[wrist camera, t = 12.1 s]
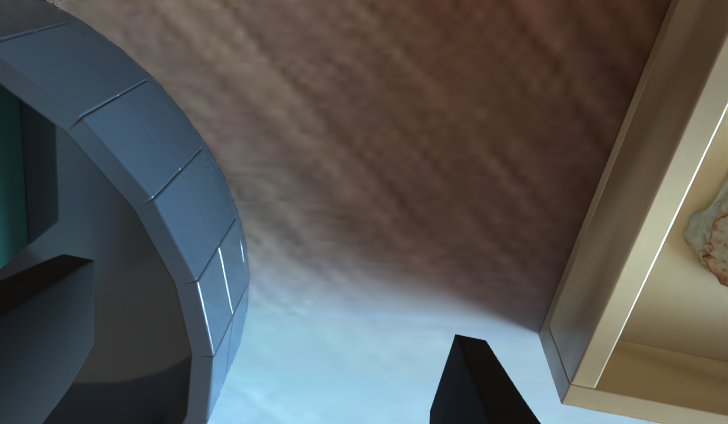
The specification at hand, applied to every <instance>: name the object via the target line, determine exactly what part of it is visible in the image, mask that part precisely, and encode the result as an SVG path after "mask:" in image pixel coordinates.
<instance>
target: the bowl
mask: <svg viewBox="0 0 728 424" xmlns="http://www.w3.org/2000/svg"><path fill="white" fill-rule="evenodd" d="M0 84H1V85H2V86H3V87H5V88H6V89H7V90H9V91H10V92H11V93H13V94H14V95H16V96H17V97H18V98H19V103H20V119H21V135H22V151H23V167H24V184H25V200H26V216H27V232H28V246H27V247H26V248H25V249H24V250H23V251H21V252H20V253H19V254H18V255H17V256H15V257H14V258H13V259H12V260H11V261H9V262H8V263H7V264H6V265H4V266H3V267H2V268H1V269H0V280H2V279H5V278H7V277H9V276H11V275H14V274H16V273H18V272H20V271H23V270H25V269H27V268H30V267H32V266H34V265H37V264H39V263H41V262H44V261H46V260H49V259H51V258H54V257H56V256H59V255H62V254H67V255H72V256H76V257H81V258H86V259H91V260H95V282H94V345H93V347H92V349H91V351H90V352H89V354H88V356H87V358H86V360H85V362H84V363H83V365H82V367H81V369H80V370H79V372H78V374H77V375H76V377H75V379H74V381H73V382H72V384H71V386H70V387H69V389H68V390H67V391H66V393H65V394H64V396H63V397H62V398H61V400H60V401H59V402H58V404H57V405H56V406H55V408H54V409H53V410H52V412H51V413H50V414H49V416H48V417H47V418H46V420H45V421H44V422H43V423H42V424H207V423H208V420H209V418H210V415H211V413H212V411H213V408H214V406H215V403H216V401H217V398H218V396H219V393H220V391H221V389H222V386H223V384H224V381H225V379H226V376H227V374H228V372H229V369H230V367H231V364H232V362H233V359H234V357H235V354H236V352H237V350H238V347H239V345H240V342H241V335H242V330H243V326H244V321H245V316H246V311H247V307H248V289H249V270H248V260H247V251H246V243H245V239H244V235H243V231H242V227H241V223H240V219H239V215H238V211H237V209H236V206H235V204H234V201H233V199H232V196H231V193H230V191H229V188H228V186H227V183H226V181H225V178H224V176H223V174H222V173H221V171H220V169H219V167H218V165H217V163H216V162H215V160H214V158H213V156H212V154H211V152H210V151H209V149H208V147H207V145H206V143H205V142H204V141H203V139H202V138H201V136H200V135H199V134H198V132H197V131H196V129H195V128H194V126H193V125H192V124H191V122H190V121H189V119H188V118H187V117H186V115H185V114H184V112H183V111H182V110H181V109H180V107H179V106H178V105H177V104H176V103H175V102H174V101H173V100H172V99H171V97H170V96H169V95H168V94H167V93H166V92H165V91H164V90H163V88H162V87H161V86H160V85H159V84H158V83H157V82H156V81H155V80H154V78H153V77H151V76H150V75H149V74H148V73H147V72H146V71H145V70H144V69H143V68H141V67H140V66H139V65H138V64H137V63H136V62H135V61H134V60H132V59H131V58H130V57H129V56H128V55H127V54H126V53H125V52H123V51H122V50H121V49H120V48H119V47H118V46H116V45H115V44H113V43H112V42H111V41H109V40H108V39H106V38H105V37H103V36H102V35H101V34H99V33H98V32H96V31H95V30H94V29H92V28H91V27H89V26H88V25H87V24H85V23H84V22H82V21H81V20H79V19H77V18H75V17H74V16H72V15H70V14H68V13H66V12H65V11H63V10H61V9H59V8H57V7H56V6H54V5H52V4H50V3H49V2H47V1H45V0H0Z"/></svg>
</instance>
